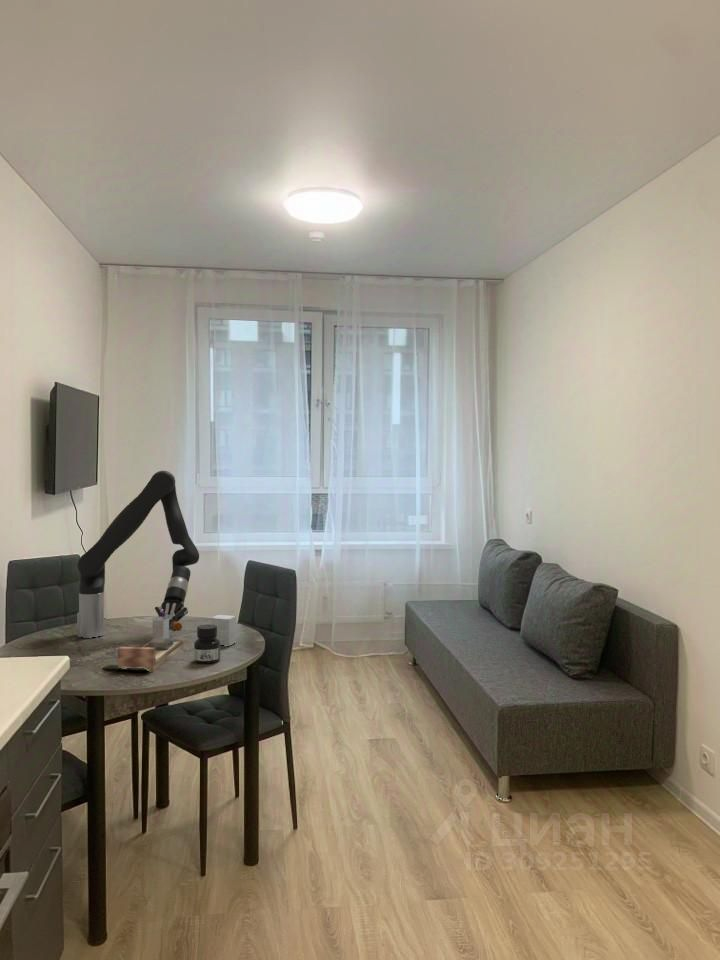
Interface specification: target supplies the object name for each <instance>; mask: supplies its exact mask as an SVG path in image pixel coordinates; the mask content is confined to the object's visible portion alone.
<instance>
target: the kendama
mask: <svg viewBox="0 0 720 960" xmlns="http://www.w3.org/2000/svg"><path fill="white" fill-rule="evenodd" d="M161 613H162V615H163V616H164V617H165V612H164V610H163V609H162V612H161ZM182 627H183V625H182V623H181V622H179V621H178V622H176V621H175V622H173V623H172V628H173V629H174V631H176V630H177V631H181V629H182Z"/></svg>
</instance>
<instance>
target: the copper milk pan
mask: <svg viewBox="0 0 720 960" xmlns="http://www.w3.org/2000/svg"><path fill="white" fill-rule="evenodd" d="M149 642H150V641H148V642H146V643H145V644H144V645H143V646H140V647H139V646H119V647H118V648H117V669H118V668H122V669H127V668H144V669H146V670H147V671H149V672H150V673H151V672H152V673H153V672H155V671H156V670H157V669H159V668H160V667H161V666H162V665H164V664H165V663H166V662H168V660H169V659H171V658H172V657H173V656H174V655H176V654H177V653H178V652H179V651H181V650H182V648H184V647H185V642H184V640H180V641H173V646H171V647H170V648H169V649H156V648H151V647H149Z"/></svg>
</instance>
